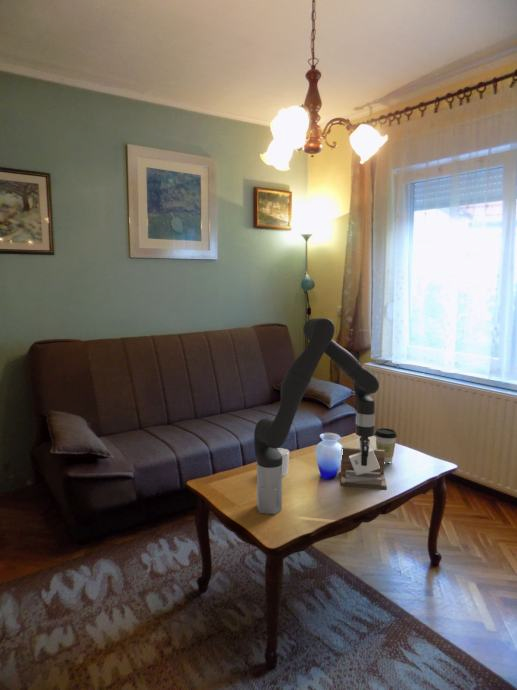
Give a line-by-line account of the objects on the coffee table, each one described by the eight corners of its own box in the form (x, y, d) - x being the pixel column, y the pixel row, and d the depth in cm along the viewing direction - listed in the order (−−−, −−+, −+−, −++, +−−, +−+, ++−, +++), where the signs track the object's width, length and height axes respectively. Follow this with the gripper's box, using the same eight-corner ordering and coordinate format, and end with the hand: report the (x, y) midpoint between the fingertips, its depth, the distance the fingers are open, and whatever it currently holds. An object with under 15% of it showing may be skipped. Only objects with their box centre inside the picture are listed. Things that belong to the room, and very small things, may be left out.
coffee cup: (369, 459, 210) (370, 428, 208) (387, 457, 213) (389, 426, 211) (381, 467, 201) (382, 435, 199) (400, 465, 204) (401, 433, 202)
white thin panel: (380, 468, 181) (372, 450, 181) (356, 475, 183) (349, 458, 183) (379, 465, 184) (372, 448, 183) (356, 473, 186) (349, 455, 185)
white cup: (289, 470, 197) (289, 448, 196) (288, 477, 189) (289, 455, 188) (271, 469, 198) (271, 447, 196) (270, 476, 190) (270, 454, 189)
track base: (386, 489, 179) (387, 462, 177) (340, 485, 182) (341, 459, 181) (383, 475, 192) (384, 450, 191) (340, 471, 196) (341, 447, 194)
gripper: (376, 429, 174) (374, 471, 176) (373, 418, 187) (371, 458, 189) (356, 428, 175) (355, 470, 177) (355, 418, 189) (353, 457, 191)
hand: (363, 464), depth 183 cm, fingers closed on white thin panel, 2 cm apart
